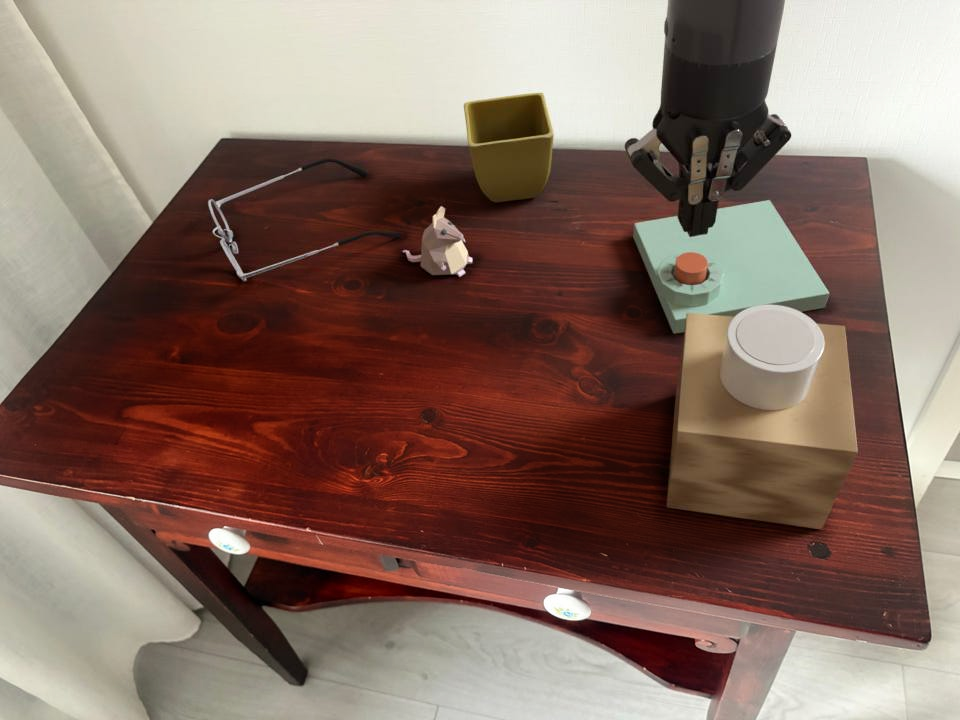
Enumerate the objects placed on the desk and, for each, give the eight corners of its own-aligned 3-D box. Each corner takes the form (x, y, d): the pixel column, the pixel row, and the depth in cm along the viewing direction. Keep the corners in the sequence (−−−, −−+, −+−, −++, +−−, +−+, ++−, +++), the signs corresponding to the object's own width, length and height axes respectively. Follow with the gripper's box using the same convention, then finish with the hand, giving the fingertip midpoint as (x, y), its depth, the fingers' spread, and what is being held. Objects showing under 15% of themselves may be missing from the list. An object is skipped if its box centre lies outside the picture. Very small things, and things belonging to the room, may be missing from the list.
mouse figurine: (414, 237, 82) (402, 185, 77) (479, 252, 79) (472, 200, 74) (390, 267, 79) (376, 216, 74) (457, 285, 76) (447, 233, 71)
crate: (814, 409, 61) (845, 325, 54) (821, 529, 54) (858, 452, 47) (675, 394, 64) (686, 312, 56) (666, 507, 57) (677, 430, 50)
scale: (825, 308, 68) (834, 279, 66) (669, 335, 68) (672, 307, 66) (766, 214, 78) (772, 186, 75) (629, 238, 78) (631, 210, 75)
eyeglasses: (214, 221, 88) (197, 186, 84) (364, 170, 91) (354, 133, 87) (240, 305, 78) (222, 269, 74) (408, 244, 81) (399, 206, 77)
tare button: (710, 282, 68) (712, 269, 67) (679, 288, 68) (681, 275, 67) (700, 262, 70) (701, 249, 68) (670, 267, 70) (671, 255, 68)
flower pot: (547, 160, 88) (543, 90, 81) (557, 206, 82) (554, 134, 76) (473, 171, 88) (463, 101, 82) (478, 217, 83) (468, 146, 76)
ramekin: (828, 372, 51) (843, 331, 48) (780, 426, 49) (792, 387, 46) (751, 331, 54) (760, 290, 51) (701, 379, 52) (708, 340, 49)
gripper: (641, 76, 49) (630, 271, 62) (839, 42, 49) (788, 244, 62) (613, 25, 54) (609, 216, 67) (793, -6, 54) (754, 191, 67)
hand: (695, 229), depth 65 cm, fingers closed
